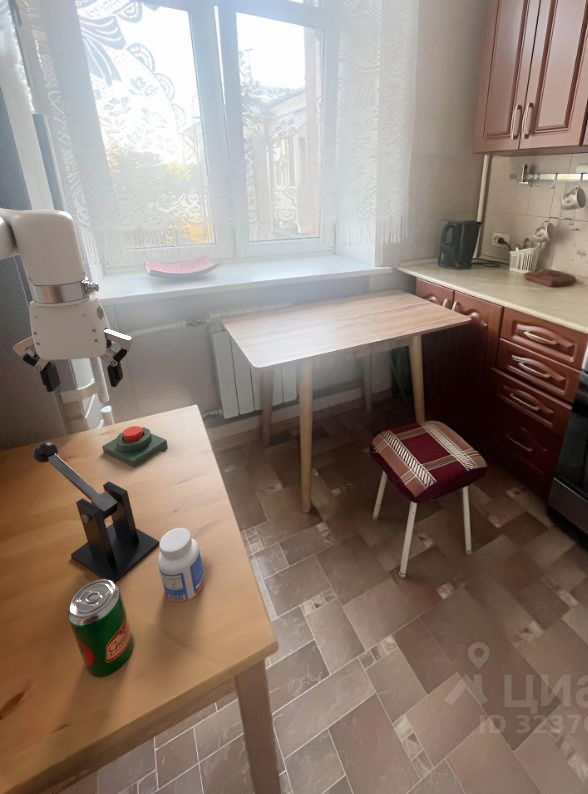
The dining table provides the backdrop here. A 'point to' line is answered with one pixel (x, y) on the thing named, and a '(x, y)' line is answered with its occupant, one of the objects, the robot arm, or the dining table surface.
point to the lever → (75, 478)
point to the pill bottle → (180, 565)
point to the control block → (135, 448)
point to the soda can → (101, 627)
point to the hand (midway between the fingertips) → (86, 385)
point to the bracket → (112, 538)
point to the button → (132, 434)
